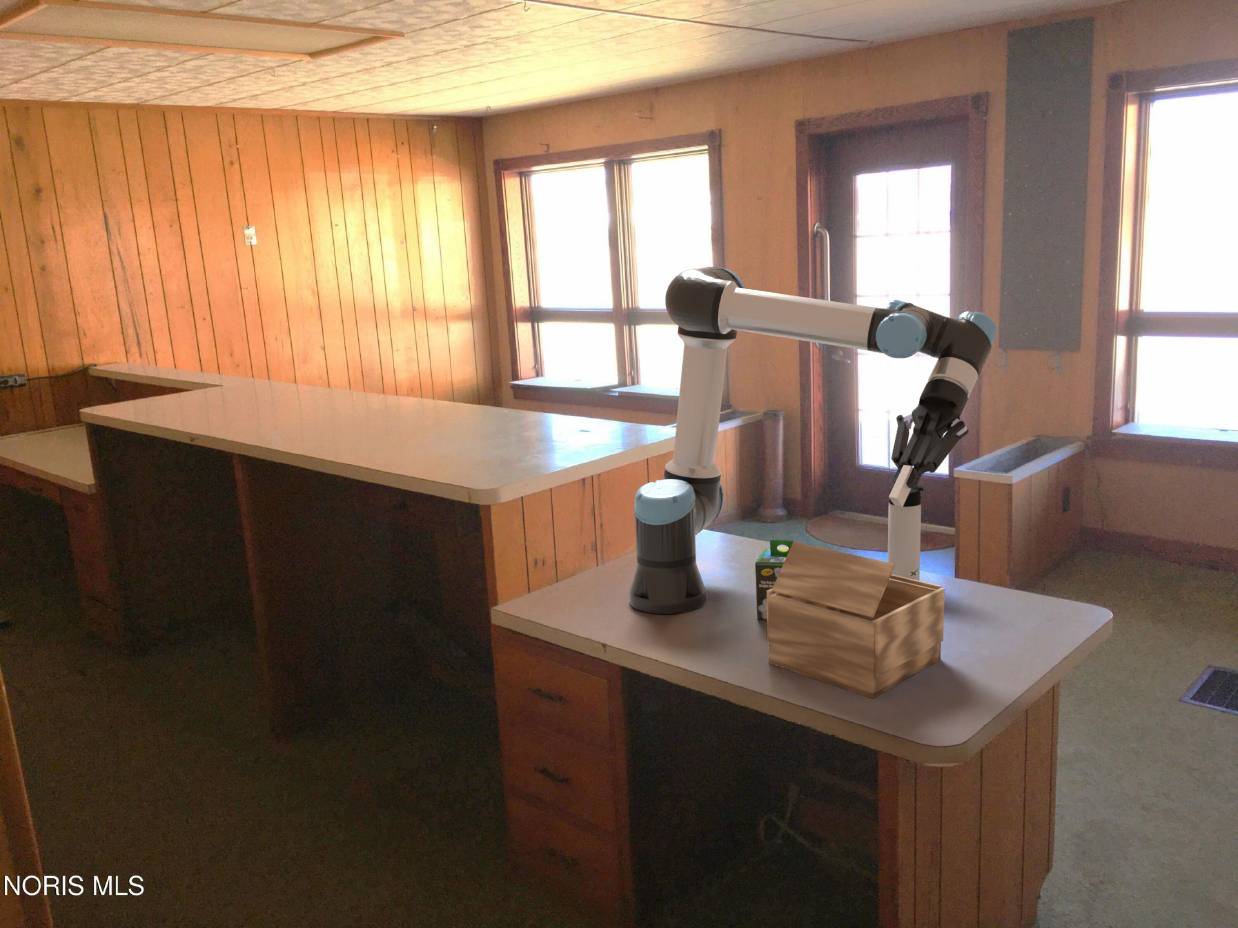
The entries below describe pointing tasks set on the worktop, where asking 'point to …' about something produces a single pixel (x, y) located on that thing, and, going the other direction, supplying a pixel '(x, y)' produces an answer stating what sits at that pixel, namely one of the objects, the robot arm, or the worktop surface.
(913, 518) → the travel mug
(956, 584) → the worktop surface
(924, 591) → the light wood open box
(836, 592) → the flap
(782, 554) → the chalk box
